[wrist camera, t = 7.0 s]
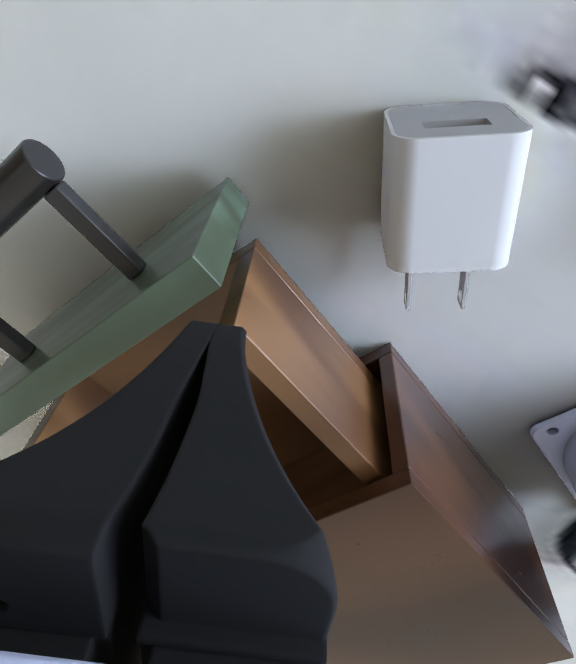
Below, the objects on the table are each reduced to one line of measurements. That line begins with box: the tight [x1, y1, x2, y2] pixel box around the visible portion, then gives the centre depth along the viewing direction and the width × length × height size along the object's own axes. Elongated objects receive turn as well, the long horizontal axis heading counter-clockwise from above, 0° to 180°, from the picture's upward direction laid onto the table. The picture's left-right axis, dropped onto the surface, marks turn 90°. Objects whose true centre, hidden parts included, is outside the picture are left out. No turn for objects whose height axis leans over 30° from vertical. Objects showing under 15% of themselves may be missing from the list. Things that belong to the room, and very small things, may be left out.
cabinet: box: [308, 343, 574, 664], centre depth 27 cm, size 14×13×8 cm
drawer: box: [0, 139, 393, 509], centre depth 21 cm, size 18×12×6 cm, turn 38°
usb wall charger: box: [381, 101, 533, 311], centre depth 18 cm, size 4×7×4 cm, turn 4°
